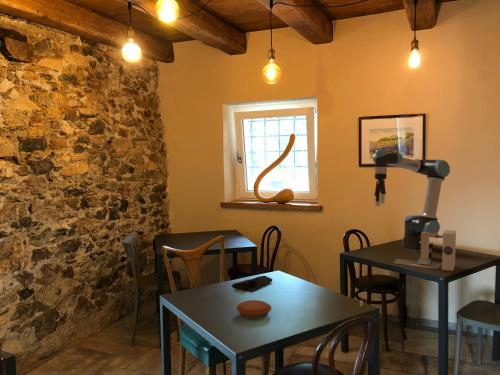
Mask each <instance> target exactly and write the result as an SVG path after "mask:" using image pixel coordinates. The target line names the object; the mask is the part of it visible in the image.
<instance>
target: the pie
mask: <svg viewBox="0 0 500 375" xmlns="http://www.w3.org/2000/svg"><path fill="white" fill-rule="evenodd" d="M235 308H236V311H237V312H238V313H239V315H240V316H241V317H242V318H243V319H245V320H249V319H259V320H262V319H261V318H263V319H265V318H266V317H267V316H268V315H269V313H270V312H271V310H272V308H273V307H272V305H271V304H270V303H267V302H266V301H263V300H258V299H257V300H255V299H254V300H253V299H251V300H245V301H242V302H239V303H238V304H237V306H236V307H235ZM264 317H265V318H264Z"/></svg>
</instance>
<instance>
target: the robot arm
mask: <svg viewBox="0 0 500 375" xmlns="http://www.w3.org/2000/svg"><path fill="white" fill-rule="evenodd" d="M372 161H373V162H374V169H373V170H374V179H375V180H376V182H375V183H376V184H375V191H374V195H373V196H374V197H375V204H374V205H375V207H380V206H381V204H383V205H384V204H385V198H386V196H385V195H386V194H387V192H386V183H385V182H386V181H385V180H386V179H387V175H388V174H387V173H388V170H387V169H388V168H387V167H388V166H392V167H395V168H400V169H401V168H402V169H406V170H410V171H412V172H413V173H417V174H420V175H423V176H426V178H427V180H428V182H427V187H426V188H427V189H426V194H425V200H424V205H423V212H422V214H420V215H419V214H414V215H406V216H405V218H404V235H403V238H402V241H401V246H402V247H404V248H408V249H416V247H417V246H418V245H420V244H419V242H420V241H421V233H422V232H429V233H439V231H440V228H441V225H440V222H439V221H438V217H437V210H438V206H439V199H440V194H441V188H442V182H444V181H445V180H446V179H445V178H446V177H448V175H450V173H451V167H450V165H449V163H448V162H447V161H446V160H444V159H419V158H418V159H417V158H415V159H411V158H406V157H404V156H403V155H402V153H400V152H388V151H387V150H386V149H376V150H375V153H374V154H373V155H372ZM417 249H420V246H418V247H417Z"/></svg>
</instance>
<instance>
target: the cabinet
mask: <svg viewBox="0 0 500 375" xmlns="http://www.w3.org/2000/svg"><path fill="white" fill-rule="evenodd" d="M442 233H443V234H442V235H443V238H442V256H441V257H442V259H441V270H442V271H451V272H453V271H454V269H455V266H456V244H457V243H456V242H457V231H456V230H451V229H450V230H448V229H445V230H444V232H442Z"/></svg>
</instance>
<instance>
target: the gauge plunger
mask: <svg viewBox="0 0 500 375" xmlns="http://www.w3.org/2000/svg"><path fill="white" fill-rule="evenodd" d="M438 233H439V232H438ZM438 233H436V235H435V239H443V234H438Z"/></svg>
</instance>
